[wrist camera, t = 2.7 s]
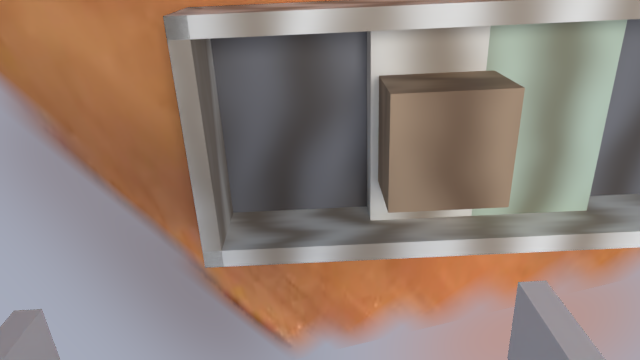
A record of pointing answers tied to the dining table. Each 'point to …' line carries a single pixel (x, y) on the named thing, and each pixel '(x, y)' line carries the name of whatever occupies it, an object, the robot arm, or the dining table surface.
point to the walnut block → (447, 140)
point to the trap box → (363, 121)
